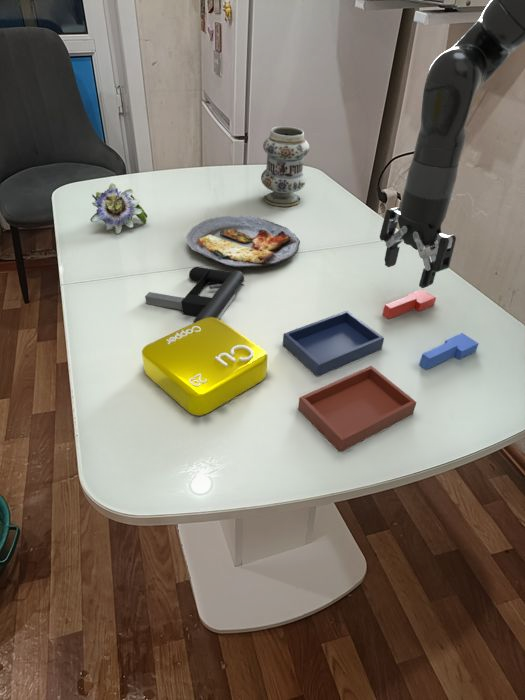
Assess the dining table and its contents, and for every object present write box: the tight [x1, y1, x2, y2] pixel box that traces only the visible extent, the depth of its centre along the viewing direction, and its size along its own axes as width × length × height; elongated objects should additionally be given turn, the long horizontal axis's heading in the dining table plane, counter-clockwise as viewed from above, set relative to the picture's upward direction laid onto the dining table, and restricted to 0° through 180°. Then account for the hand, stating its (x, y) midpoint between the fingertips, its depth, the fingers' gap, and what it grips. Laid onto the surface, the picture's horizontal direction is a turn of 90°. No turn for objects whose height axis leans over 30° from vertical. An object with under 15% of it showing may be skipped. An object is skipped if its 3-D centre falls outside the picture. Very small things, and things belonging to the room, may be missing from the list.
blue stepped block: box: [418, 332, 480, 371], centre depth 86 cm, size 11×4×2 cm, turn 123°
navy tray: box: [282, 310, 385, 377], centre depth 87 cm, size 14×10×2 cm
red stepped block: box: [382, 288, 437, 320], centre depth 98 cm, size 11×4×2 cm, turn 123°
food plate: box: [185, 215, 301, 269], centre depth 115 cm, size 25×23×4 cm
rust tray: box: [297, 365, 417, 453], centre depth 75 cm, size 14×10×2 cm
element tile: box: [141, 317, 268, 416], centre depth 80 cm, size 15×15×5 cm
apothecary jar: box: [260, 125, 310, 208], centre depth 133 cm, size 12×12×18 cm
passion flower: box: [89, 182, 148, 235], centre depth 120 cm, size 11×11×12 cm
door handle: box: [144, 266, 245, 324], centre depth 97 cm, size 3×20×16 cm
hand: (406, 275), depth 93 cm, fingers open, 8 cm apart
